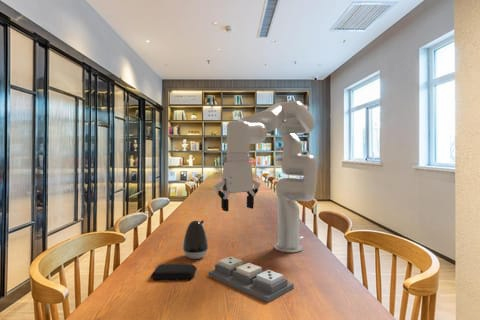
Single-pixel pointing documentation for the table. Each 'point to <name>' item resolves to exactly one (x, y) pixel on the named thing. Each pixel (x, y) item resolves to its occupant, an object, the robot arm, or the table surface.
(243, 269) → the tile one
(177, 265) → the carrying case or bag
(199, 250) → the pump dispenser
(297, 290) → the table surface
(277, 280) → the tile three
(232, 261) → the tile two
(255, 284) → the button board
